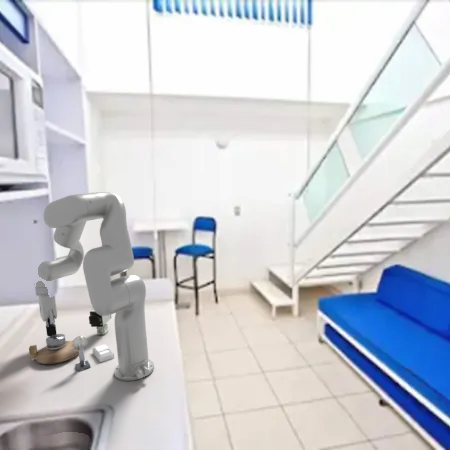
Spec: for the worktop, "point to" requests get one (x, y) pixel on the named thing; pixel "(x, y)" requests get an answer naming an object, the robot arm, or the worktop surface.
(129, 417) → the worktop surface
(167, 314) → the worktop surface
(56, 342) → the cover
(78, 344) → the gauge post
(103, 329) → the pneumatic valve
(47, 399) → the worktop surface
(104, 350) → the white switch plate
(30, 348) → the turntable
